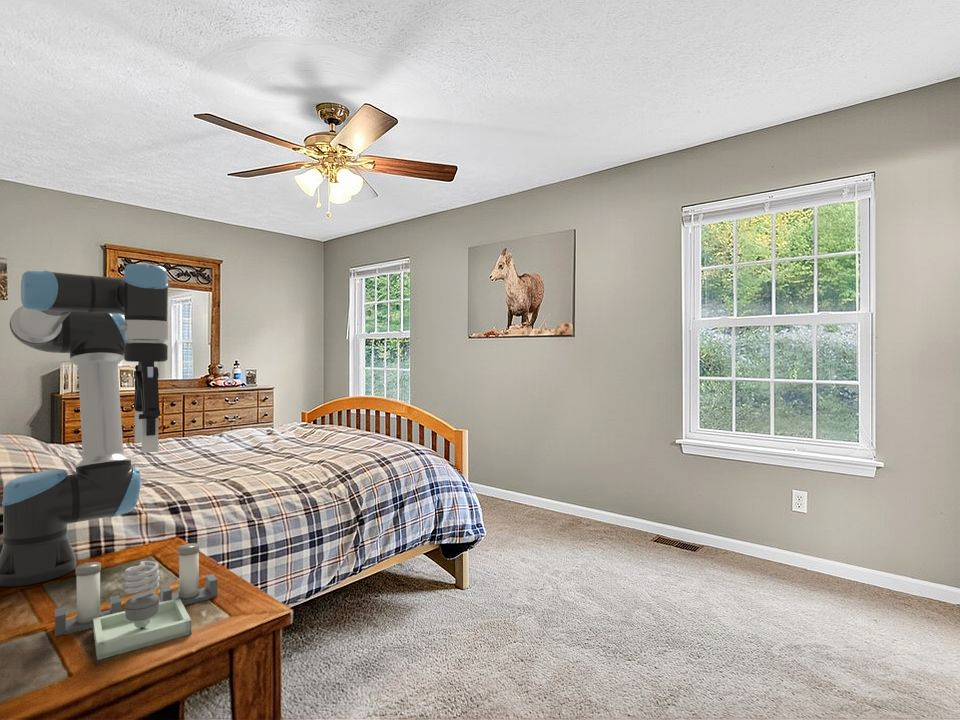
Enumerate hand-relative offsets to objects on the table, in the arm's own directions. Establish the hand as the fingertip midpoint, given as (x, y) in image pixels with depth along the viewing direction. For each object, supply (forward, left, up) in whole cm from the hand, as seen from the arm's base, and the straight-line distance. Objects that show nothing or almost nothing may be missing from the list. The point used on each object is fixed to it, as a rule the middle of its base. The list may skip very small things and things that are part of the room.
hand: (146, 447), depth 111 cm
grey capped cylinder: (+2, +7, -32) cm, 33 cm away
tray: (+13, -2, -32) cm, 35 cm away
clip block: (+2, -1, -32) cm, 32 cm away
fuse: (+2, -10, -32) cm, 34 cm away
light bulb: (+12, -2, -32) cm, 34 cm away
